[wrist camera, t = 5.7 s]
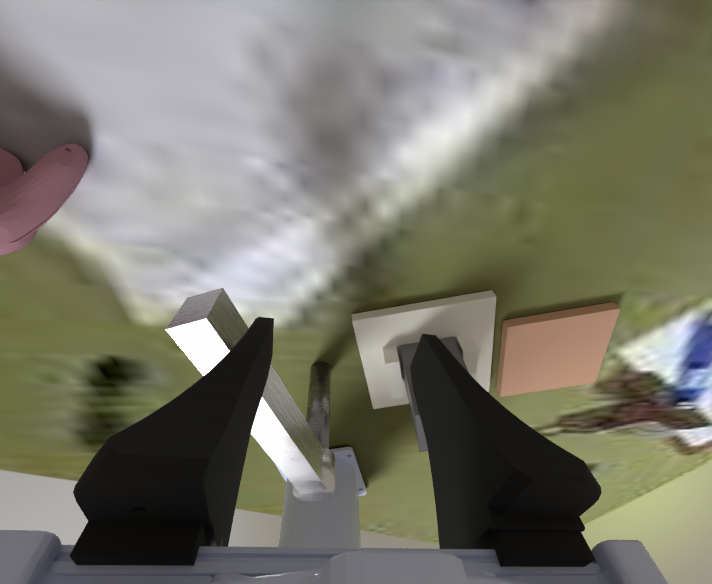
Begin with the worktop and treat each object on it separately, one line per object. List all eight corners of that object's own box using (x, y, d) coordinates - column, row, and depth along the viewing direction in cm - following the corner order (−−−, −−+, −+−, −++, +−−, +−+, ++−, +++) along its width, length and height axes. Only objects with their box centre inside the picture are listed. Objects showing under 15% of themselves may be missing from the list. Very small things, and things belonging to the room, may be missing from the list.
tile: (589, 375, 28) (595, 382, 28) (496, 389, 29) (500, 396, 28) (612, 302, 24) (620, 308, 23) (503, 320, 24) (507, 327, 24)
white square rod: (231, 285, 13) (216, 315, 11) (339, 463, 21) (340, 497, 19) (178, 300, 13) (155, 332, 12) (304, 470, 21) (301, 504, 19)
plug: (453, 373, 26) (480, 443, 21) (404, 380, 26) (419, 452, 21) (452, 336, 24) (483, 404, 19) (399, 345, 24) (415, 415, 19)
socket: (485, 383, 28) (525, 466, 22) (325, 408, 29) (322, 495, 23) (491, 290, 23) (546, 366, 17) (293, 324, 24) (278, 408, 18)
